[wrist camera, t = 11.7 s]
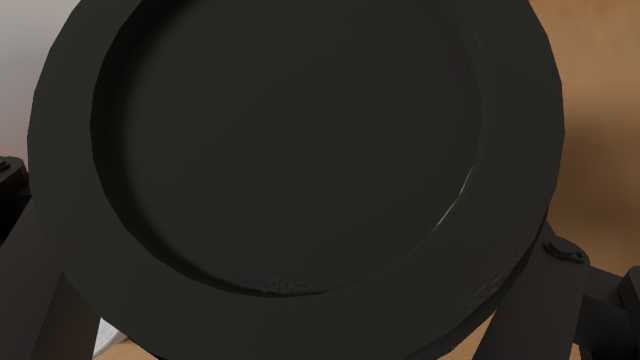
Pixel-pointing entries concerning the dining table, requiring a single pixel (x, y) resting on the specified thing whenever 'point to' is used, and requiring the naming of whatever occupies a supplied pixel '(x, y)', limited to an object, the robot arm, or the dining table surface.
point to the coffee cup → (296, 170)
